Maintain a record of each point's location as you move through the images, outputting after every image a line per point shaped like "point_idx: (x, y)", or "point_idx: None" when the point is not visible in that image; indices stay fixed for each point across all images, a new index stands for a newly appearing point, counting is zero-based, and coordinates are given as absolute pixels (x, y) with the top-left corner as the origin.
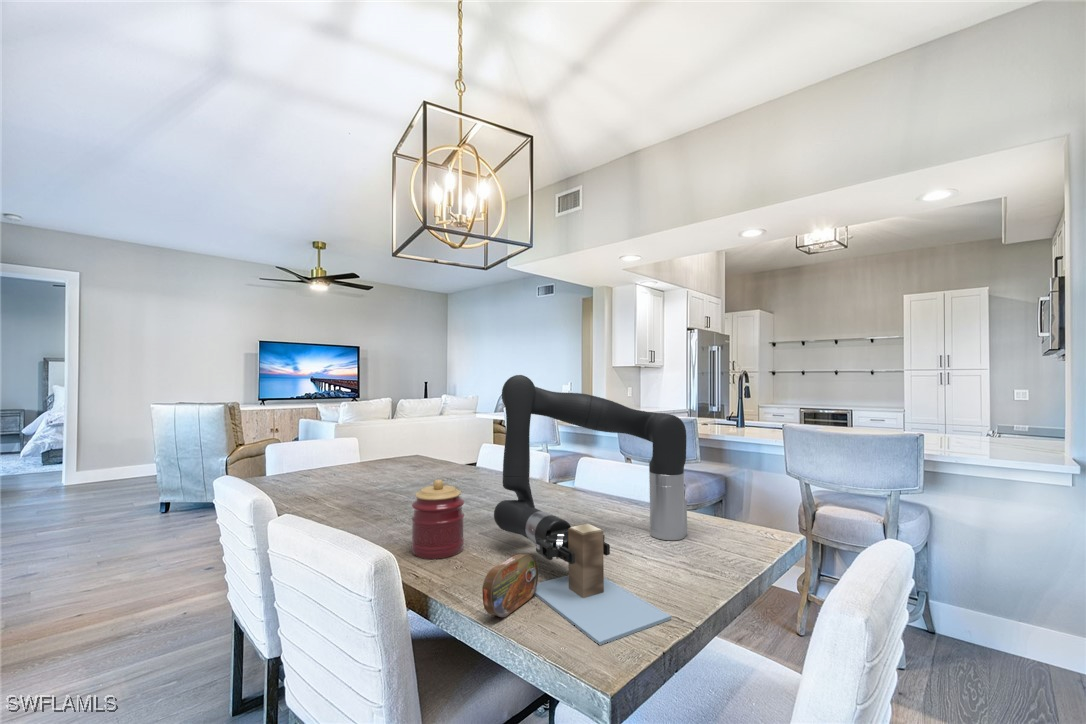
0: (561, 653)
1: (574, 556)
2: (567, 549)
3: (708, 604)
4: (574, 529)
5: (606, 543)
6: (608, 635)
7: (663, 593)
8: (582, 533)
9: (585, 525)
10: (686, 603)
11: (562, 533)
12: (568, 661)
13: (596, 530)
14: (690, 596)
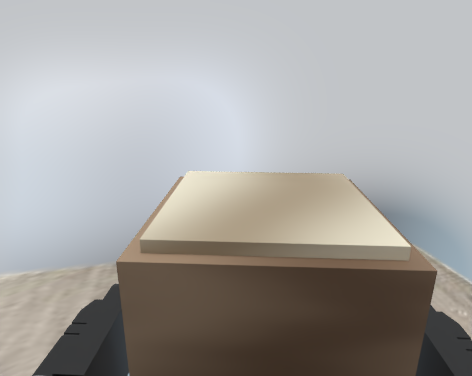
0: (466, 303)
1: None
2: (439, 335)
3: (38, 281)
4: (378, 217)
5: (114, 291)
6: None
7: (23, 359)
8: (344, 179)
9: (212, 224)
10: (61, 301)
11: None
12: (452, 285)
13: (228, 172)
14: (7, 314)
